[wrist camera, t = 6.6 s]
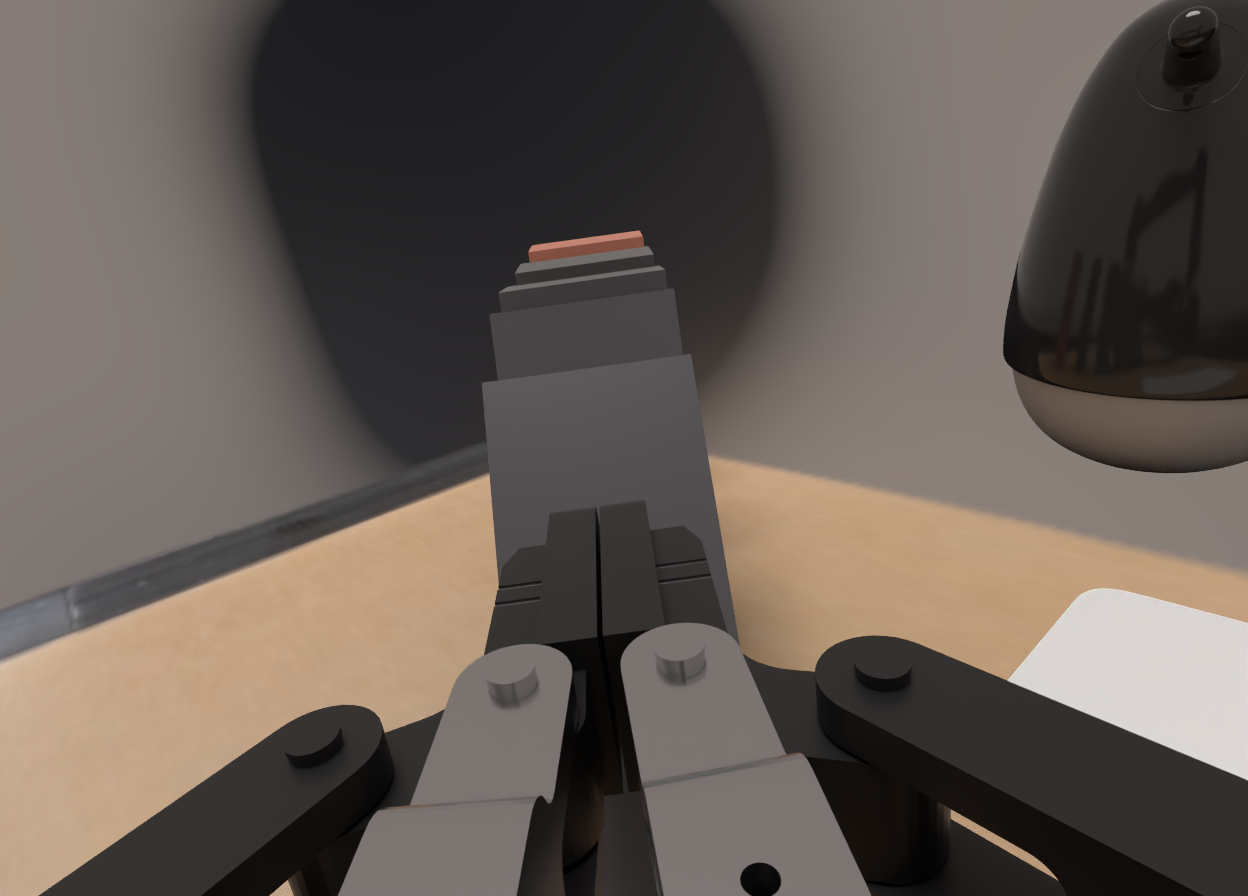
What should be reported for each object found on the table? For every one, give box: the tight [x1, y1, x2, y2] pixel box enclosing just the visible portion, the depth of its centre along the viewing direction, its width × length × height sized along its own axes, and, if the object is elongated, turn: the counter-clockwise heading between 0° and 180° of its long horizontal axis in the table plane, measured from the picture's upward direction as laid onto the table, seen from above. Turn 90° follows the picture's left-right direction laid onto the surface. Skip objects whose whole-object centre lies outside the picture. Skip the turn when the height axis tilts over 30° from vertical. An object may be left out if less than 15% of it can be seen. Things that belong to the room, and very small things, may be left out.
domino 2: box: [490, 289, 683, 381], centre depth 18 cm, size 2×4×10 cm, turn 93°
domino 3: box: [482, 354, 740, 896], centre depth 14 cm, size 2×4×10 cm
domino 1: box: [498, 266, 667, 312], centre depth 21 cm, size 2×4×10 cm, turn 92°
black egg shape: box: [1003, 0, 1248, 473], centre depth 27 cm, size 10×10×15 cm
